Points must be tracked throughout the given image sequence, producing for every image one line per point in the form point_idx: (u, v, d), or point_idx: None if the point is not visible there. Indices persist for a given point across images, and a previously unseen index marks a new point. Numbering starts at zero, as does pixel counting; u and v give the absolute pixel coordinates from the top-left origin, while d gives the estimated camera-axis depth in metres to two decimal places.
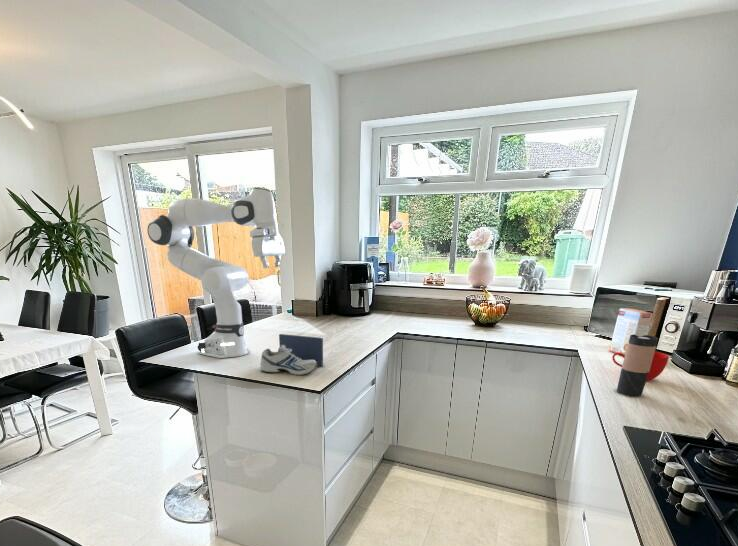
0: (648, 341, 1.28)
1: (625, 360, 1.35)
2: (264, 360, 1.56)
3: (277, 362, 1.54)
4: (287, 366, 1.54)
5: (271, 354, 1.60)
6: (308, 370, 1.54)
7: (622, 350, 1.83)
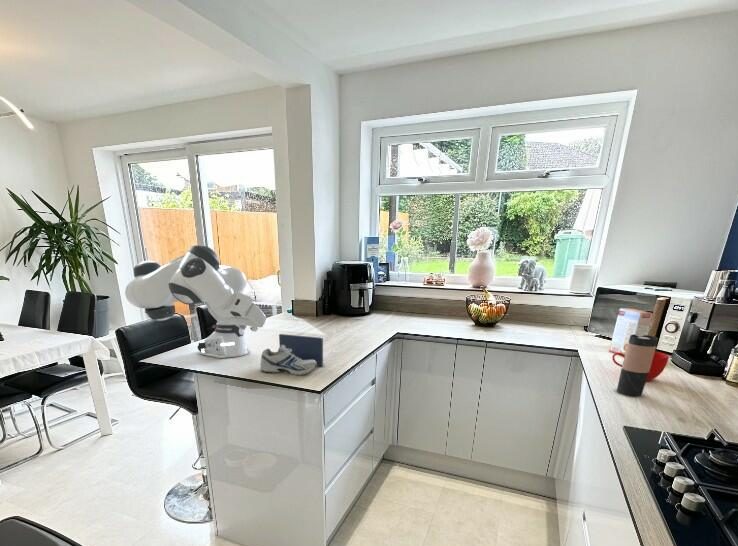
0: (648, 341, 1.28)
1: (625, 360, 1.35)
2: (264, 360, 1.56)
3: (277, 362, 1.54)
4: (287, 366, 1.54)
5: (271, 354, 1.60)
6: (308, 370, 1.54)
7: (622, 350, 1.83)
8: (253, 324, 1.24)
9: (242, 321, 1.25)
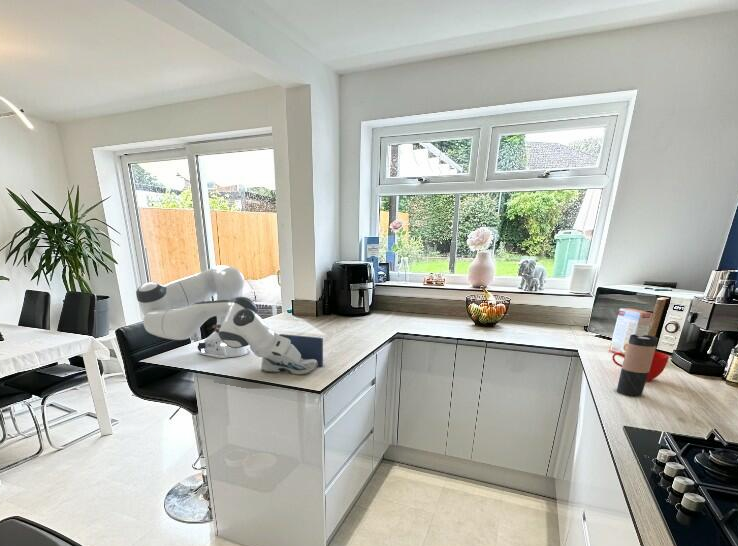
0: (648, 341, 1.28)
1: (625, 360, 1.35)
2: (265, 360, 1.56)
3: (278, 362, 1.55)
4: (288, 365, 1.55)
5: None
6: (309, 369, 1.54)
7: (622, 350, 1.83)
8: (290, 361, 1.44)
9: (279, 358, 1.45)
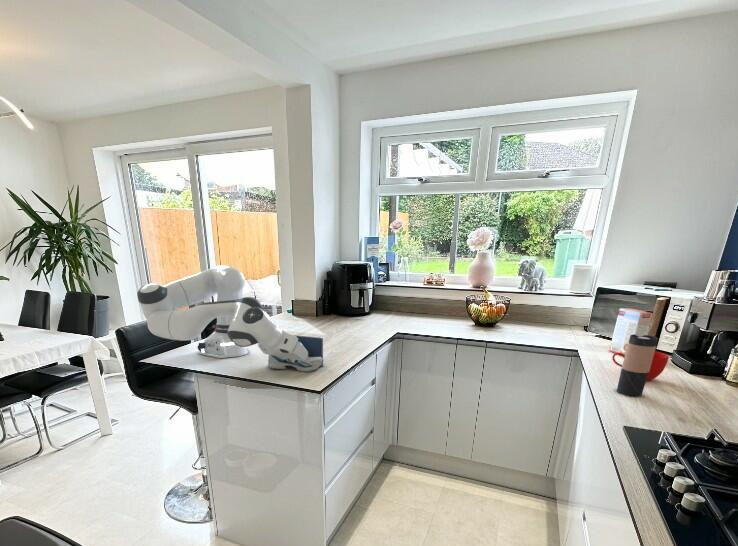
0: (648, 341, 1.28)
1: (625, 360, 1.35)
2: (272, 357, 1.60)
3: (285, 359, 1.58)
4: (295, 362, 1.58)
5: None
6: (315, 367, 1.58)
7: (622, 350, 1.83)
8: (297, 358, 1.47)
9: (287, 355, 1.49)
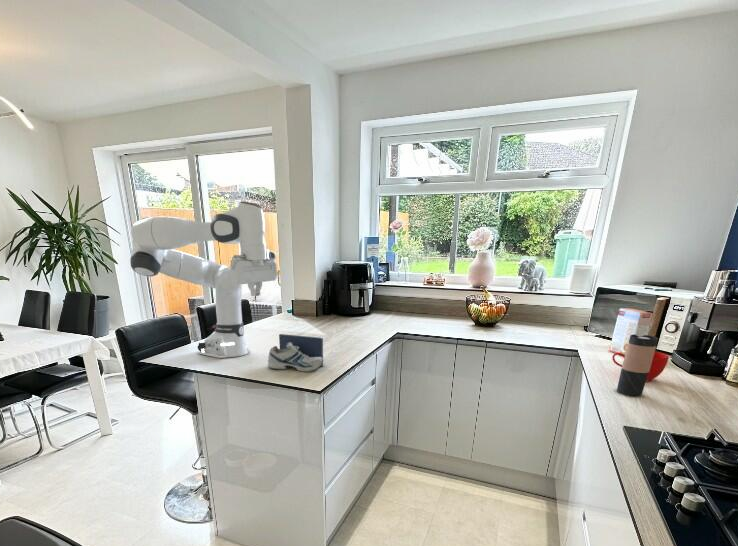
0: (648, 341, 1.28)
1: (625, 360, 1.35)
2: (272, 357, 1.60)
3: (285, 359, 1.58)
4: (295, 362, 1.58)
5: (278, 351, 1.64)
6: (315, 367, 1.58)
7: (622, 350, 1.83)
8: (271, 276, 1.41)
9: (263, 274, 1.38)
